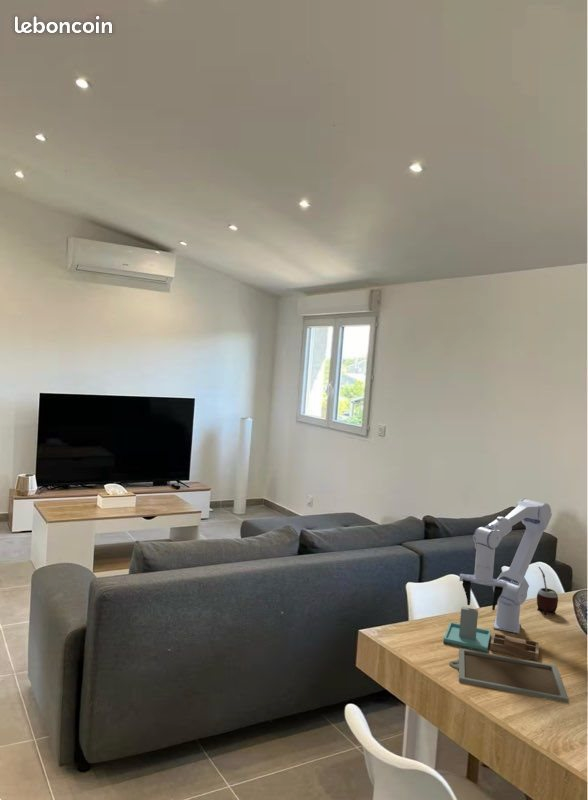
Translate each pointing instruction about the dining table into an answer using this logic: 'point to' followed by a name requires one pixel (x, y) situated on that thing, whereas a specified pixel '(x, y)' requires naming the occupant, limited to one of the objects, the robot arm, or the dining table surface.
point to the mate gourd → (547, 599)
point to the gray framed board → (510, 674)
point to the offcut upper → (515, 642)
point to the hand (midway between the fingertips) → (481, 606)
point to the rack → (499, 646)
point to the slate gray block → (468, 623)
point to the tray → (478, 644)
